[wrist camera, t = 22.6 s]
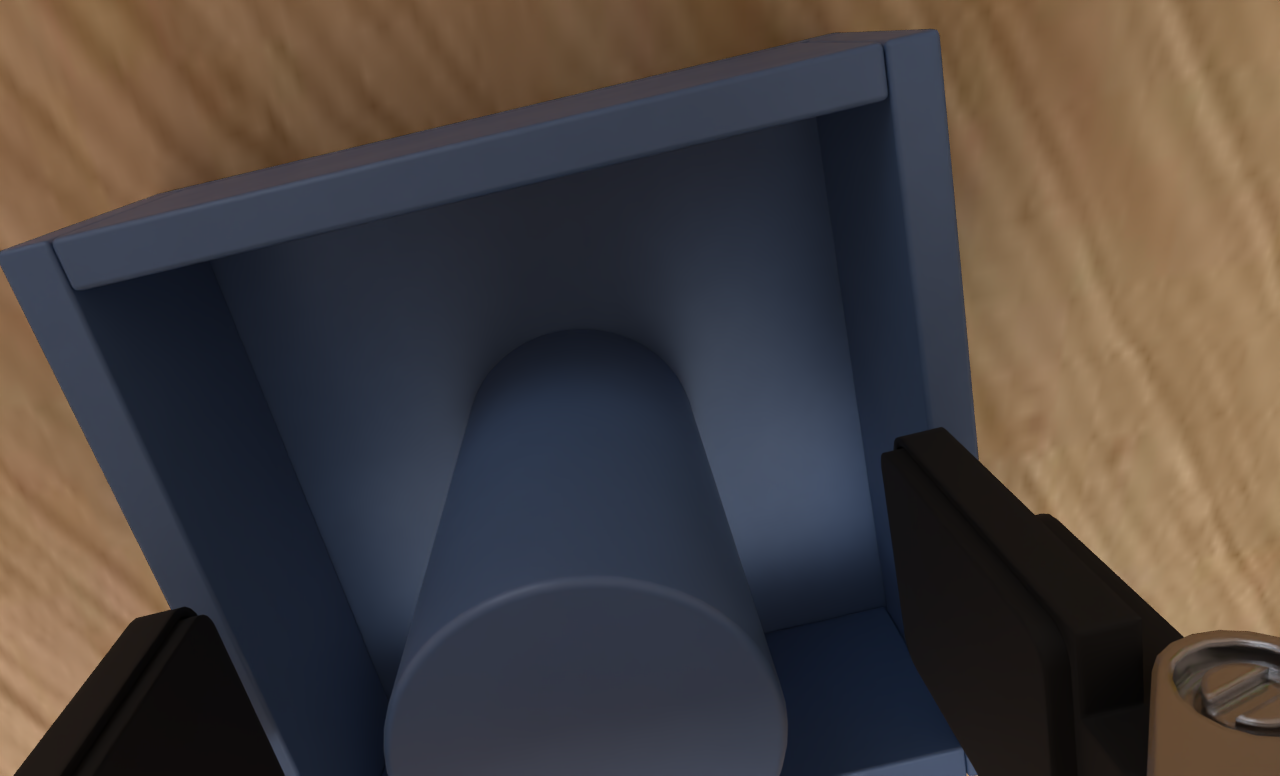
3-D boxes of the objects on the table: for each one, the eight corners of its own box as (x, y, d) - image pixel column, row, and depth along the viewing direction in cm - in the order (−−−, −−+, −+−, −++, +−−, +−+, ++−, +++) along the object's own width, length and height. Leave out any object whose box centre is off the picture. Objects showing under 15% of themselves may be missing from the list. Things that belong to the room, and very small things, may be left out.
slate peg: (503, 553, 15) (451, 938, 9) (440, 357, 14) (321, 636, 7) (712, 505, 15) (818, 856, 9) (668, 303, 14) (752, 536, 7)
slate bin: (379, 730, 17) (325, 923, 13) (155, 194, 13) (-9, 253, 9) (912, 608, 17) (1009, 769, 13) (836, 32, 13) (940, 27, 9)
